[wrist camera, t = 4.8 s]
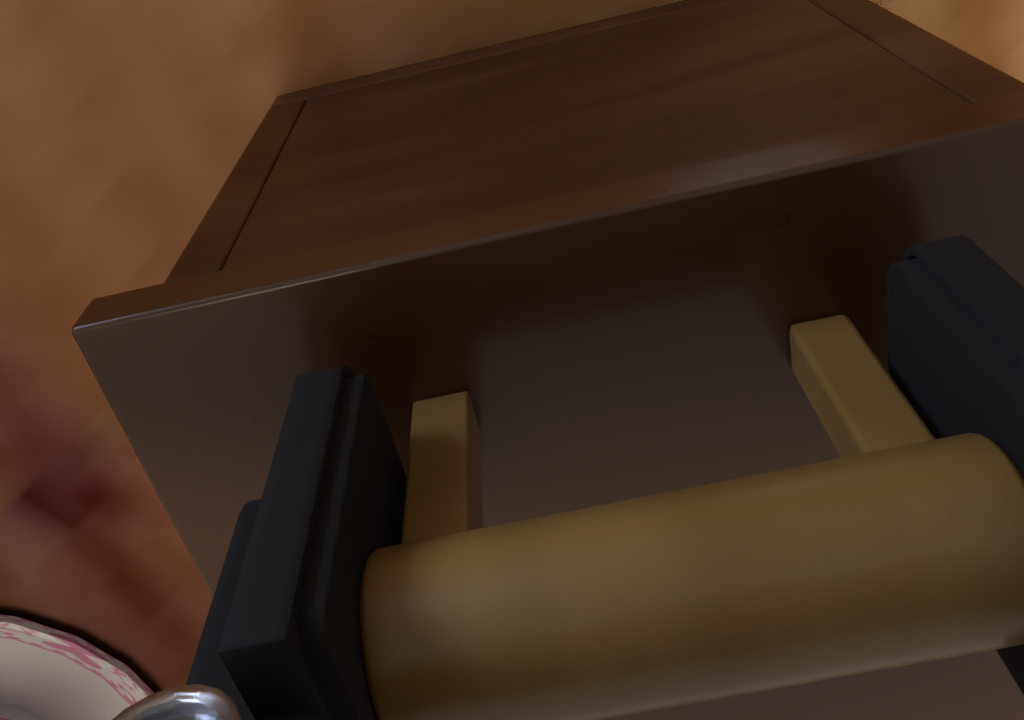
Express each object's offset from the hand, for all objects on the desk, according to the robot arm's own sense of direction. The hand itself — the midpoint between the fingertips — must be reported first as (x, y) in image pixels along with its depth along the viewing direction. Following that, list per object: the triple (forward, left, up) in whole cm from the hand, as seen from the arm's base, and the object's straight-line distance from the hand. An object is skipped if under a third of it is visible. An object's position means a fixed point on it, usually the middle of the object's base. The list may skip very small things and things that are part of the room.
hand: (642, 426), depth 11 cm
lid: (+3, +4, -2) cm, 6 cm away
